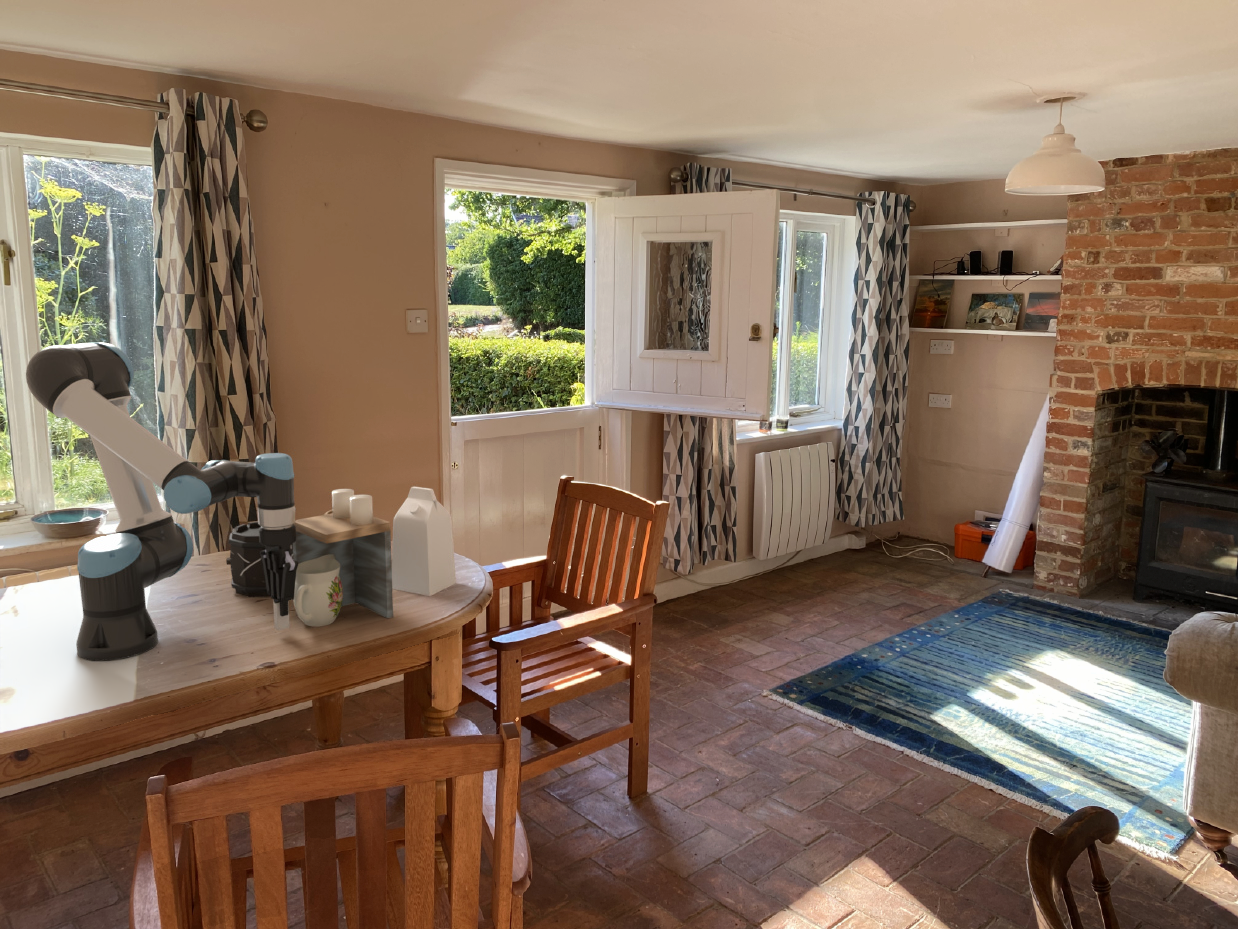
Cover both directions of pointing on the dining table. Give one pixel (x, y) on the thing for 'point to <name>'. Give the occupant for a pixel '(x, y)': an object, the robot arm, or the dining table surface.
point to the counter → (352, 557)
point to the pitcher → (318, 591)
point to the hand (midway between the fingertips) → (282, 628)
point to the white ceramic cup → (361, 510)
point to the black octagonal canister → (248, 561)
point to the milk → (422, 545)
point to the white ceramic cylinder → (341, 503)
